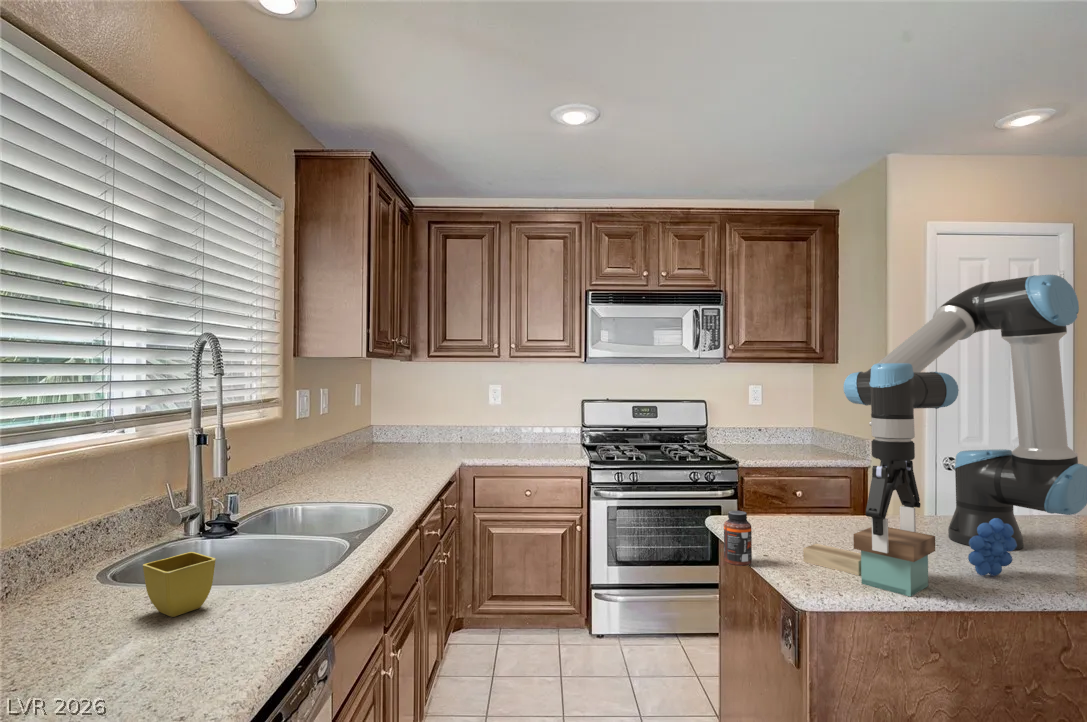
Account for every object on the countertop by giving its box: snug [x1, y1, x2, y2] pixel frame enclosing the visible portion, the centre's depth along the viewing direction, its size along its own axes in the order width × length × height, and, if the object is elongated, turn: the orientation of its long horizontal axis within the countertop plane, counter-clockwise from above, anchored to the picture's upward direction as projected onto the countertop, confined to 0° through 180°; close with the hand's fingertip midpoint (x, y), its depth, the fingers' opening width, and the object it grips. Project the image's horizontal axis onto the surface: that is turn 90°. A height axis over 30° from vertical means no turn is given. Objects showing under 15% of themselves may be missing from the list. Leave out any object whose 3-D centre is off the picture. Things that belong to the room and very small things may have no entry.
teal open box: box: [860, 550, 929, 598], centre depth 120 cm, size 9×9×7 cm
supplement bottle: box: [723, 510, 753, 567], centre depth 134 cm, size 6×6×11 cm
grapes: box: [967, 518, 1017, 577], centre depth 126 cm, size 12×7×12 cm, turn 103°
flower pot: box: [142, 551, 216, 618], centre depth 108 cm, size 9×9×9 cm
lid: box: [853, 526, 936, 562], centre depth 120 cm, size 11×11×3 cm
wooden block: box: [802, 543, 861, 576], centre depth 132 cm, size 6×12×3 cm, turn 39°
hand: (894, 544), depth 120 cm, fingers open, 13 cm apart
